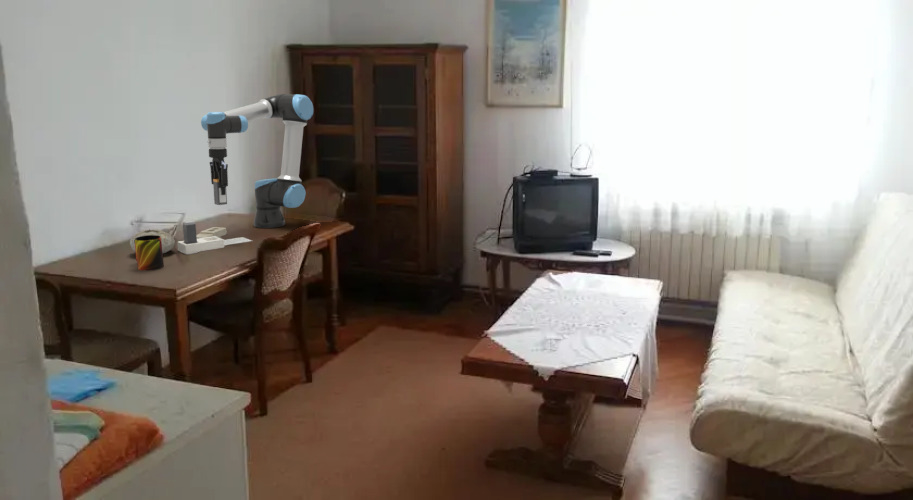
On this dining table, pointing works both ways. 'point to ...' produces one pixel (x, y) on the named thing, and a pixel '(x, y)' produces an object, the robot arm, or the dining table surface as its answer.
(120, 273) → the dining table surface
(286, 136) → the robot arm
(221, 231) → the electrical outlet
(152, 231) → the grey stone
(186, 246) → the socket strip
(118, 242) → the dining table surface
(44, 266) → the dining table surface
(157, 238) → the mug
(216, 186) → the plug
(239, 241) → the tray
